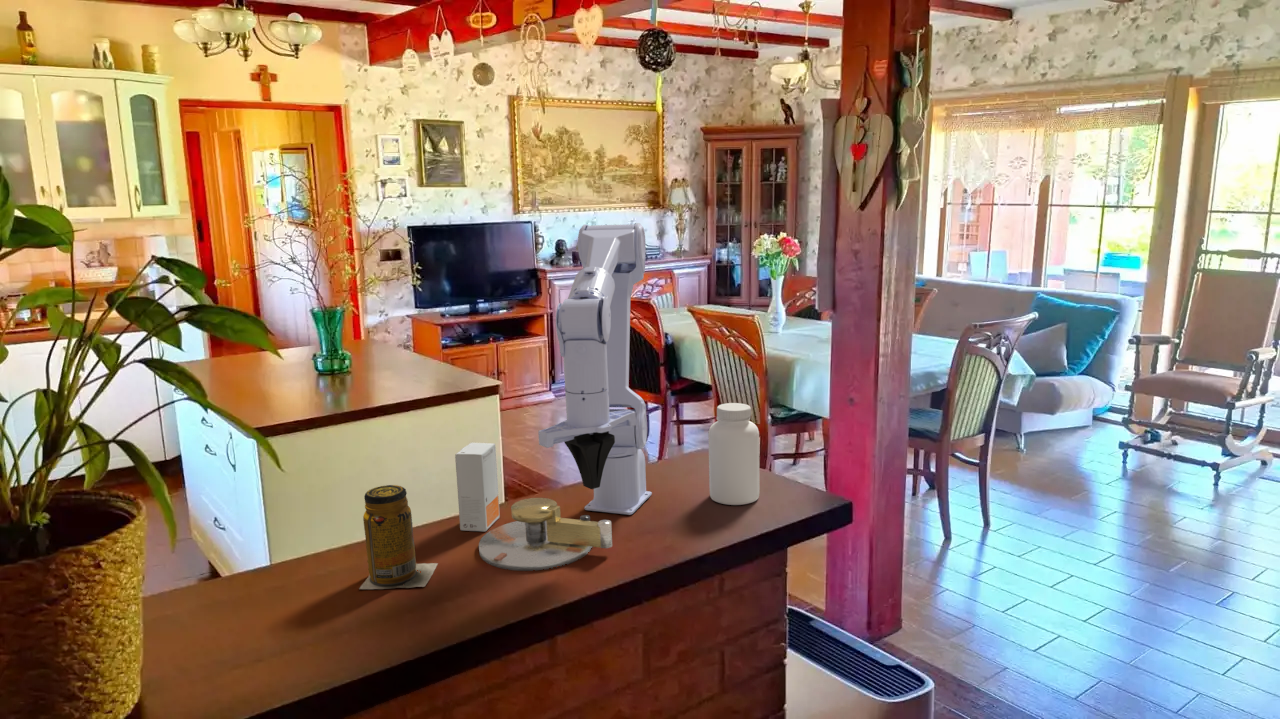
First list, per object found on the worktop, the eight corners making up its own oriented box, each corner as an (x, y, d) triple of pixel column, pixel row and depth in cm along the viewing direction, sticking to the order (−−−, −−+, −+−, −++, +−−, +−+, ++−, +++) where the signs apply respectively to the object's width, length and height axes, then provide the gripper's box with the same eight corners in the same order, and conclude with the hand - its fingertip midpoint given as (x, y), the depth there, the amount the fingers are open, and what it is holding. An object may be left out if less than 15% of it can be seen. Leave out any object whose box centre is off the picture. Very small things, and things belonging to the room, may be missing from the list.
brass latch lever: (505, 543, 121) (502, 511, 120) (526, 526, 127) (524, 495, 126) (602, 555, 116) (601, 522, 115) (620, 537, 122) (618, 505, 121)
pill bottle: (761, 490, 142) (761, 400, 139) (756, 508, 135) (756, 414, 132) (713, 487, 144) (711, 399, 141) (706, 505, 136) (704, 412, 133)
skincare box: (486, 532, 129) (481, 454, 126) (459, 531, 130) (453, 454, 127) (501, 517, 135) (496, 442, 132) (475, 515, 135) (469, 441, 133)
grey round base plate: (513, 519, 133) (512, 491, 132) (610, 530, 128) (609, 501, 127) (457, 562, 119) (454, 531, 118) (563, 577, 113) (561, 544, 112)
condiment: (376, 566, 119) (367, 482, 116) (438, 564, 119) (431, 480, 116) (358, 591, 112) (349, 502, 109) (424, 589, 111) (416, 500, 109)
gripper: (557, 404, 108) (563, 508, 111) (648, 384, 116) (651, 480, 119) (527, 394, 113) (533, 493, 116) (616, 376, 122) (620, 468, 125)
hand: (591, 486), depth 118 cm, fingers closed
